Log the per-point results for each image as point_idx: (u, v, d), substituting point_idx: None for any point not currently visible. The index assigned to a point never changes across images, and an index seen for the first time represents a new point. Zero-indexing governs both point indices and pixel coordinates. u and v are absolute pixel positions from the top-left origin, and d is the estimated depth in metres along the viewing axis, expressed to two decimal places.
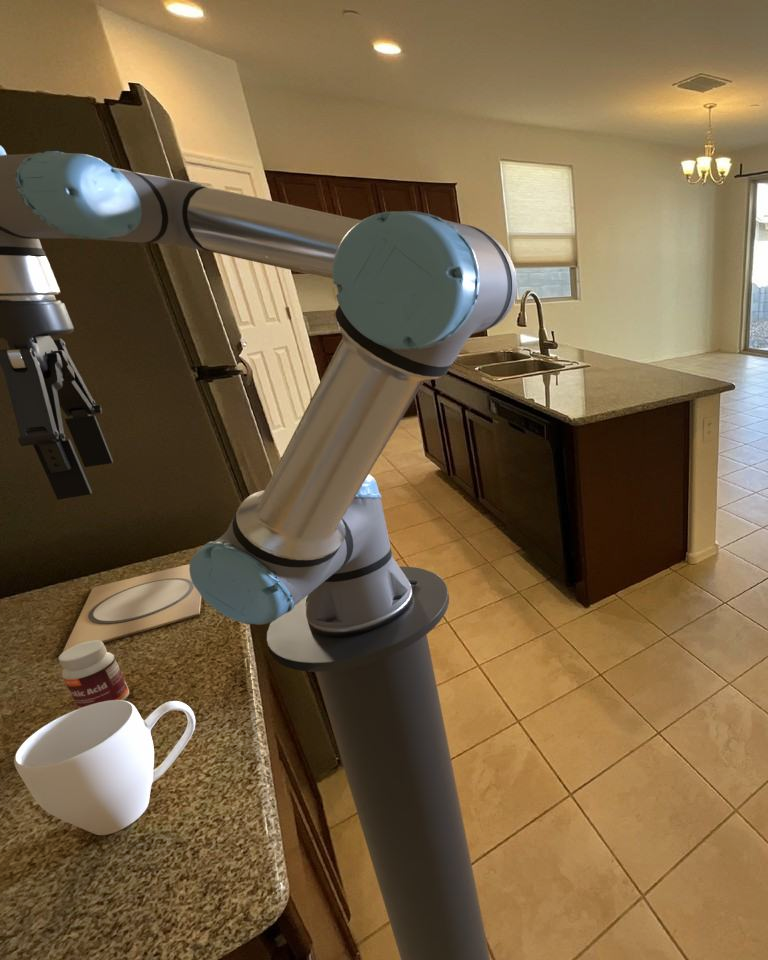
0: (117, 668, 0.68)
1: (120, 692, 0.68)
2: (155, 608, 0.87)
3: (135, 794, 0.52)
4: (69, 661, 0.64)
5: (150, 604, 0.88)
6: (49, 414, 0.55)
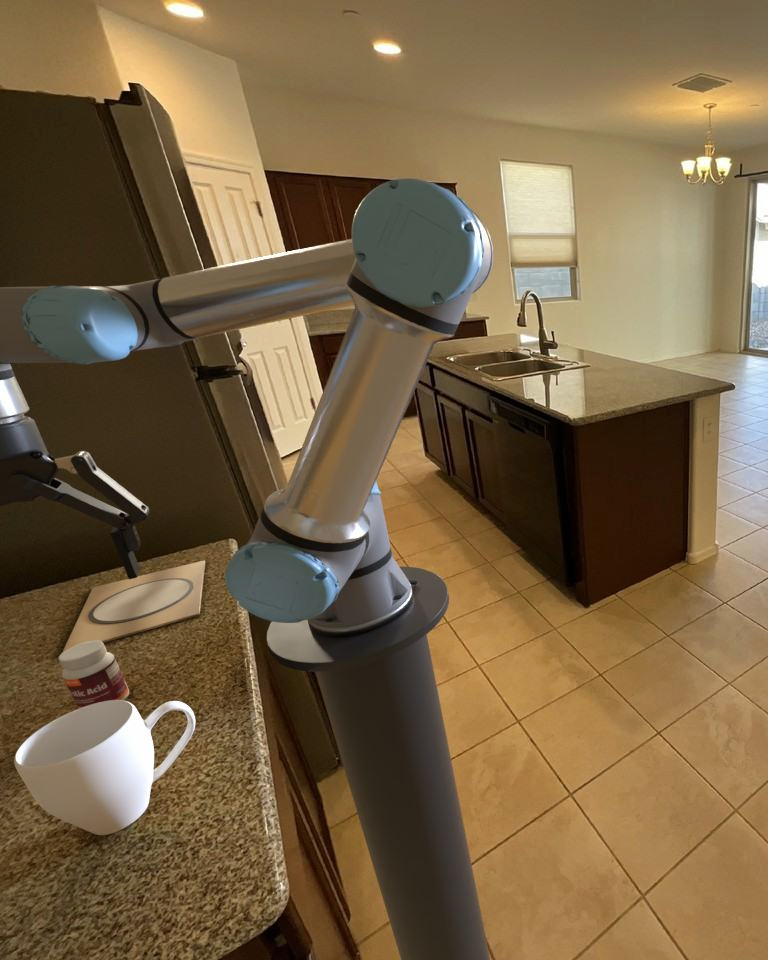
0: (117, 668, 0.68)
1: (120, 692, 0.68)
2: (155, 608, 0.87)
3: (135, 794, 0.52)
4: (69, 661, 0.64)
5: (150, 604, 0.88)
6: None
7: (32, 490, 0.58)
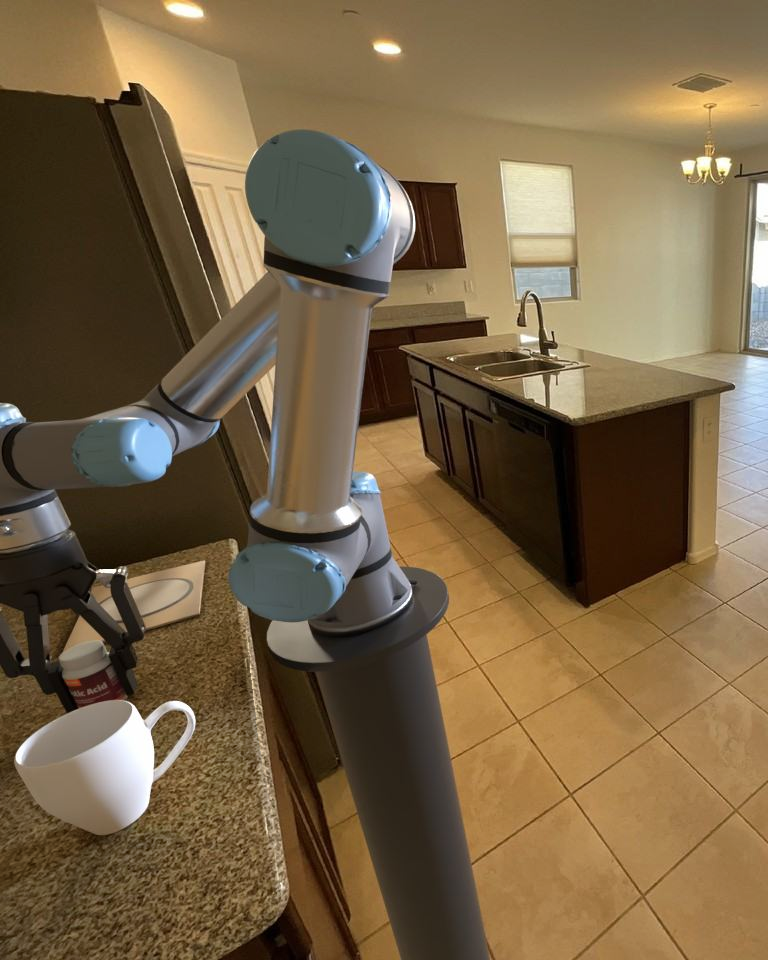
0: None
1: (120, 692, 0.68)
2: (155, 608, 0.87)
3: (135, 794, 0.52)
4: (69, 661, 0.64)
5: (150, 604, 0.88)
6: None
7: (74, 599, 0.62)
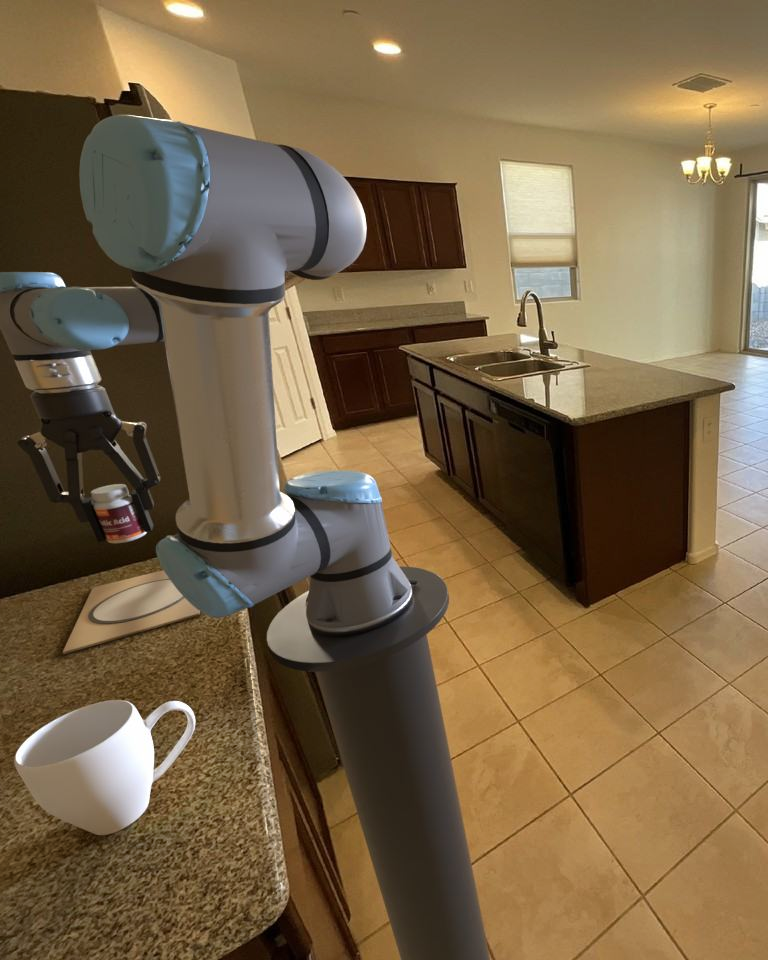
0: None
1: (139, 527, 0.82)
2: (155, 608, 0.87)
3: (135, 794, 0.52)
4: (99, 494, 0.78)
5: (150, 604, 0.88)
6: None
7: (104, 441, 0.77)
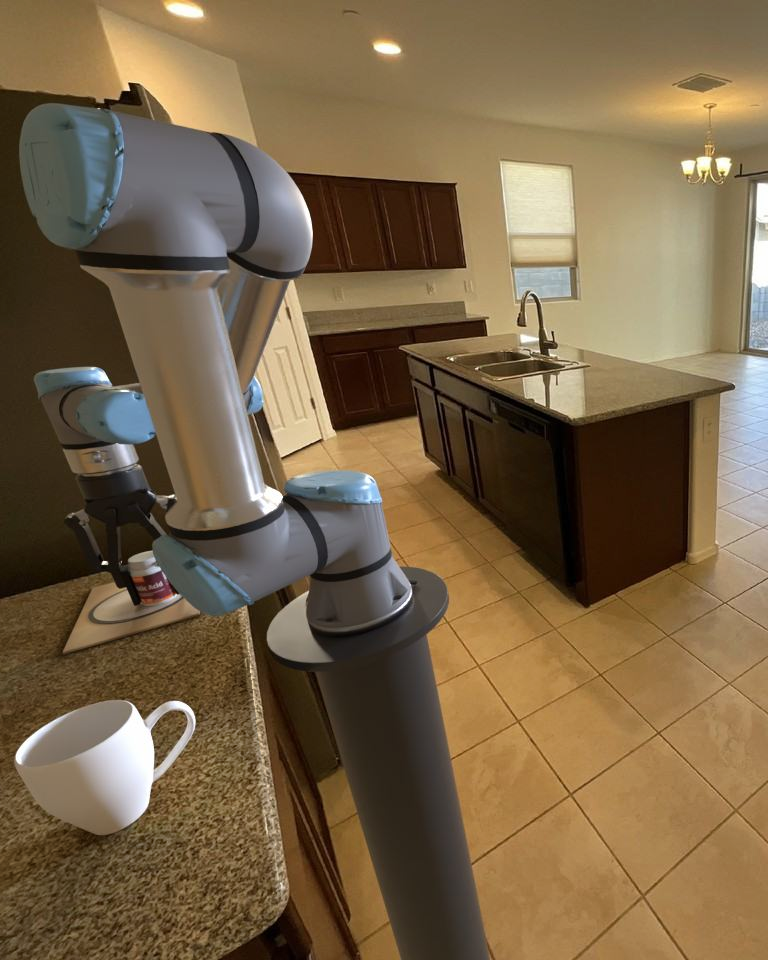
0: None
1: (171, 590, 0.89)
2: (155, 608, 0.87)
3: (135, 794, 0.52)
4: (136, 562, 0.85)
5: None
6: None
7: (141, 515, 0.84)
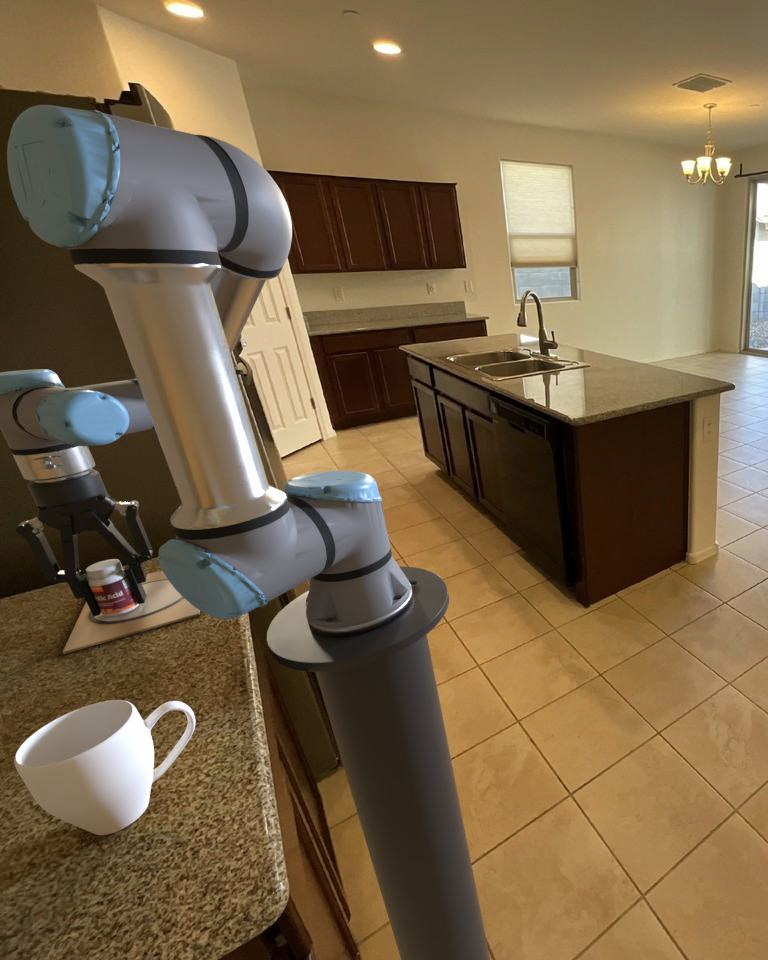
0: None
1: (133, 600, 0.86)
2: (155, 608, 0.87)
3: (135, 794, 0.52)
4: (94, 571, 0.82)
5: (150, 604, 0.88)
6: None
7: (98, 522, 0.81)
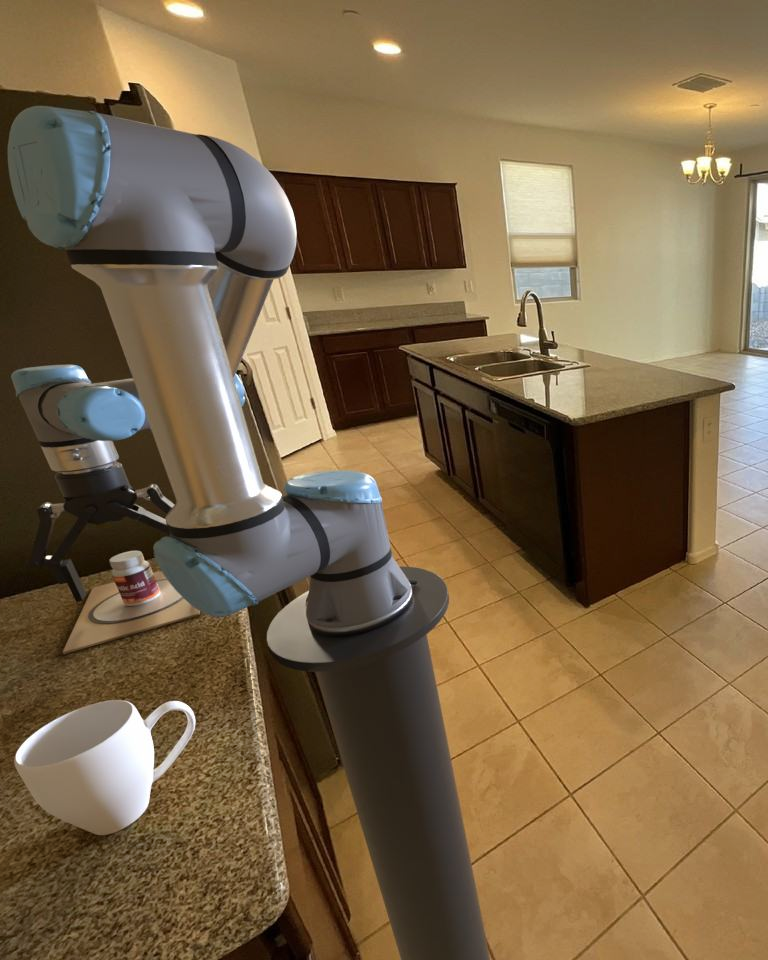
0: (151, 572, 0.89)
1: (153, 590, 0.89)
2: (155, 608, 0.87)
3: (135, 794, 0.52)
4: (117, 562, 0.85)
5: (150, 604, 0.88)
6: None
7: (121, 513, 0.84)
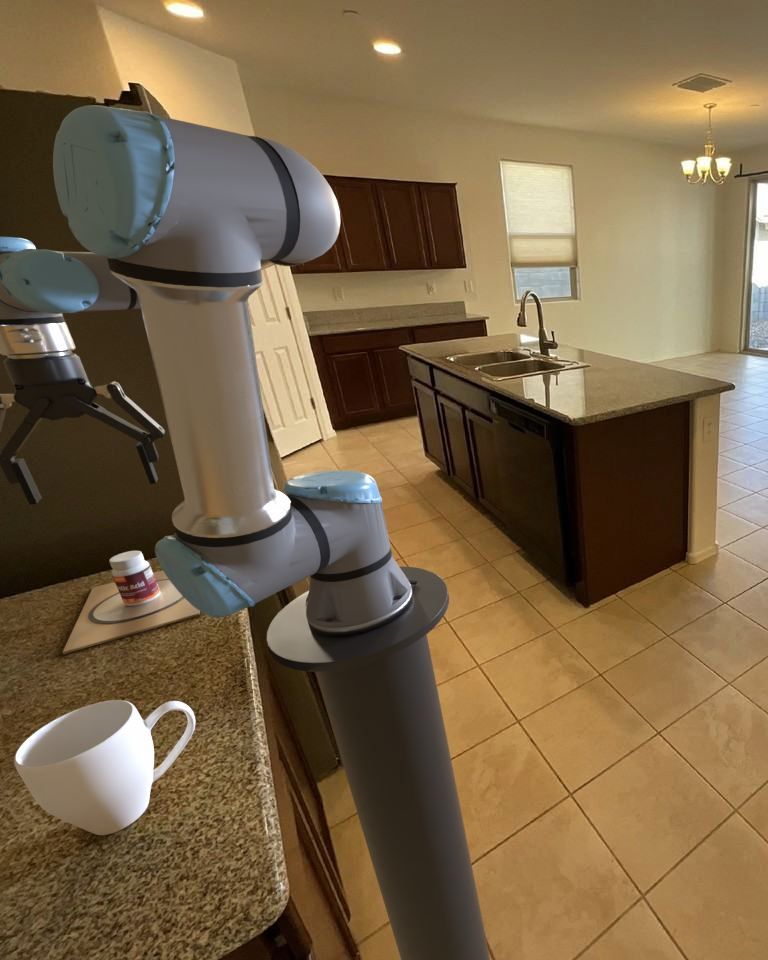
0: (151, 572, 0.89)
1: (153, 590, 0.89)
2: (155, 608, 0.87)
3: (135, 794, 0.52)
4: (117, 562, 0.85)
5: (150, 604, 0.88)
6: None
7: (78, 408, 0.77)
